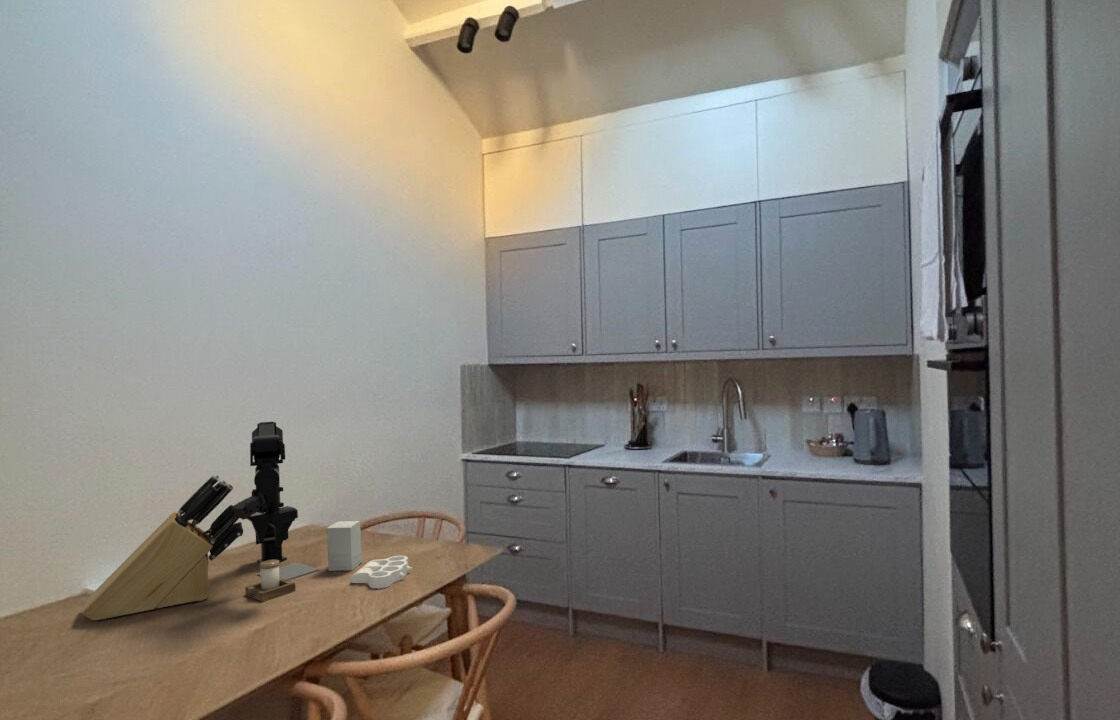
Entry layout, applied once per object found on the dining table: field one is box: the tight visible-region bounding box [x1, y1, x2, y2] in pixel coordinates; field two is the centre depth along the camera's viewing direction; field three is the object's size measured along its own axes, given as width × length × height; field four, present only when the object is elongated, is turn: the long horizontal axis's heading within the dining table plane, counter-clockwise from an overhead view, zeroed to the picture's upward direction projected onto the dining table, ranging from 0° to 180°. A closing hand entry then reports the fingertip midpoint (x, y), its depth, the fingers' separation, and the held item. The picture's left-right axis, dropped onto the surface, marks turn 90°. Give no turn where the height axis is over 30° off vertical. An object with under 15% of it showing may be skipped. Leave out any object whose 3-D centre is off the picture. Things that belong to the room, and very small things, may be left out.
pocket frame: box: [244, 577, 296, 602], centre depth 161 cm, size 9×9×2 cm
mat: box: [256, 561, 320, 581], centre depth 176 cm, size 12×12×1 cm
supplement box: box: [326, 520, 363, 572], centre depth 180 cm, size 7×7×13 cm
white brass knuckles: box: [349, 555, 413, 589], centre depth 170 cm, size 3×18×15 cm
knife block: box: [81, 474, 244, 621], centre depth 157 cm, size 11×35×31 cm, turn 121°
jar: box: [259, 560, 280, 591], centre depth 161 cm, size 5×5×8 cm
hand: (269, 543), depth 161 cm, fingers open, 9 cm apart
